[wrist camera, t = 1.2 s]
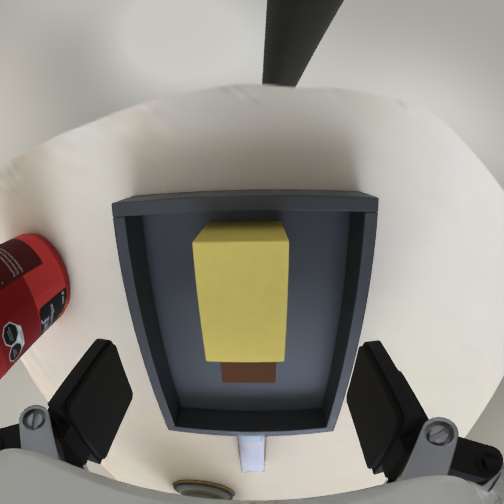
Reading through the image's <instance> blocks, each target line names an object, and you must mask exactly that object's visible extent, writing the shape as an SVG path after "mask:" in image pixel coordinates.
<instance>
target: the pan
mask: <svg viewBox="0 0 504 504" xmlns="http://www.w3.org/2000/svg"><path fill="white" fill-rule="evenodd" d="M112 212H113V217H114V218H113V221H114V229H115V236H116V243H117V249H118V255H119V261H120V267H121V272H122V277H123V282H124V287H125V292H126V296H127V301H128V305H129V309H130V314H131V318H132V322H133V325H134V329H135V333H136V337H137V340H138V344H139V347H140V351H141V354H142V357H143V361H144V364H145V367H146V370H147V373H148V376H149V379H150V382H151V385H152V388H153V391H154V393H155V396H156V399H157V402H158V404H159V407H160V410H161V412H162V415H163V417H164V420H165V422H166V425H167V427H168V429H169V430H173V431H180V432H189V433H199V434H211V435H228V436H281V435H298V434H310V433H320V432H329V431H333V430H334V428H335V425H336V422H337V419H338V416H339V413H340V410H341V406H342V403H343V400H344V397H345V393H346V390H347V386H348V383H349V379H350V375H351V372H352V368H353V364H354V360H355V356H356V352H357V347H358V343H359V338H360V334H361V329H362V324H363V319H364V314H365V309H366V303H367V297H368V291H369V285H370V278H371V271H372V264H373V256H374V247H375V238H376V228H377V215H378V213H377V212H378V198H377V197H374V196H371V195H369V194H366V193H363V192H360V191H338V190H225V191H201V192H182V193H167V194H153V195H141V196H132V197H129V198H126V199H124V200H121V201H118V202H115V203H112ZM271 220H280V221H281V222H282V224H283V227H284V230H285V232H286V235H287V237H288V240H289V271H288V300H287V322H286V341H285V358H284V361H283V362H276V380H275V383H224V382H223V381H222V373H221V365H220V362H213V361H206V356H205V349H204V343H203V335H202V328H201V320H200V312H199V304H198V296H197V287H196V277H195V267H194V257H193V246H192V242H193V241H194V240H195V238H196V237H197V236H198V234H199V233H200V232H201V231H202V229H203V228H204V227H205V226H206V224H207V223H208V222H216V221H271Z"/></svg>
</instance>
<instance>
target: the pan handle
mask: <svg viewBox="0 0 504 504" xmlns="http://www.w3.org/2000/svg"><path fill="white" fill-rule="evenodd" d="M237 438H238V447H239V455H240V463H241V470H242V472H264V455H265V436H237Z"/></svg>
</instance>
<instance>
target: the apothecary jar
mask: <svg viewBox="0 0 504 504" xmlns="http://www.w3.org/2000/svg"><path fill="white" fill-rule="evenodd" d="M173 487H174V489H175V490H176V491H177V492H178V493H180V494H181V495H184V496H192V497H200V498H209V499H221V500H231V499H232V498H233V496H234V495H235V493H234V492H233V491H232V490H231V489H229V488H227V487H224V486H221V485H218V484H214V483H210V482H204V481H192V480H184V481H178V482H176V483H175V484H174V485H173Z"/></svg>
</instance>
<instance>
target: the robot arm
mask: <svg viewBox="0 0 504 504" xmlns="http://www.w3.org/2000/svg"><path fill="white" fill-rule="evenodd" d="M132 397H133V393H132V389H131V387H130V384H129V382H128V379H127V377H126V374H125V371H124V368H123V366H122V363H121V360H120V357H119V354H118V351H117V348H116V346H115V345H114V344H113V343H112V342H111V341H110V340H105V339H96V340H95V342H94V343H93V344H92V345H91V347H90V348H89V349H88V350H87V352H86V353H85V354H84V355H83V357H82V358H81V359H80V361H79V362H78V363H77V365H76V366H75V367H74V368H73V370H72V371H71V372H70V374H69V375H68V376H67V378H66V379H65V380H64V382H63V383H62V385H61V386H60V387H59V389H58V390H57V391H56V393H55V394H54V396H53V397H52V398H51V400H50V401H49V403H48V406H49V408H48V410H47V409H46V408H45V407H43V406H40V405H33V406H30V407H28V408H26V409H25V410H24V411H23V412H22V413H21V416H20V418H19V424H16V425H12V426H8V427H5V428H1V429H0V504H504V463H503V457H502V454H501V453H500V451H499V450H498V449H497V448H495V447H493V446H489V445H485V444H482V443H478V442H475V441H471V440H468V439H465V438H461V437H458V429H457V427H456V425H455V424H454V423H453V422H452V421H450V420H449V419H446V418H443V417H435V418H432V419H428V417H427V415H426V414H425V412H424V410H423V408H422V406H421V405H420V403H419V401H418V399H417V398H416V396H415V394H414V392H413V391H412V389H411V387H410V386H409V384H408V382H407V380H406V379H405V377H404V375H403V374H402V373H401V371H399V370H397V368H396V366H395V365H394V363H393V361H392V360H391V358H390V356H389V355H388V353H387V351H386V350H385V348H384V347H383V345H382V343H381V342H380V341H370V342H365V343H364V344H363V346H360V347H359V350H358V354H357V358H356V363H355V367H354V371H353V374H352V378H351V382H350V386H349V389H348V393H347V404H348V407H349V410H350V413H351V416H352V419H353V422H354V425H355V429H356V432H357V435H358V438H359V441H360V445H361V448H362V451H363V454H364V458H365V461H366V465H367V467H368V468H369V469H371V468H372V470H373V474H378V473H381V472H384V474H385V477H386V480H385V482H384V484H383V485H378V486H374V487H370V488H366V489H361V490H356V491H351V492H346V493H340V494H333V495H327V496H320V497H312V498H302V499H290V500H270V501H242V500H221V499H209V498H200V497H192V496H184V495H178V494H172V493H167V492H161V491H156V490H152V489H147V488H143V487H139V486H135V485H131V484H127V483H124V482H120V481H117V480H113V479H110V478H107V477H104V476H101V475H98V474H95V473H92V472H90V471H89V470H88V467H87V465H86V463H87V460H89V461H92V462H95V463H98V464H100V463H101V461H102V459H104V458H106V456H107V454H108V452H109V449H110V447H111V445H112V442H113V440H114V438H115V436H116V433H117V431H118V429H119V426H120V424H121V422H122V420H123V418H124V415H125V413H126V411H127V409H128V407H129V405H130V402H131V400H132Z"/></svg>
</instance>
